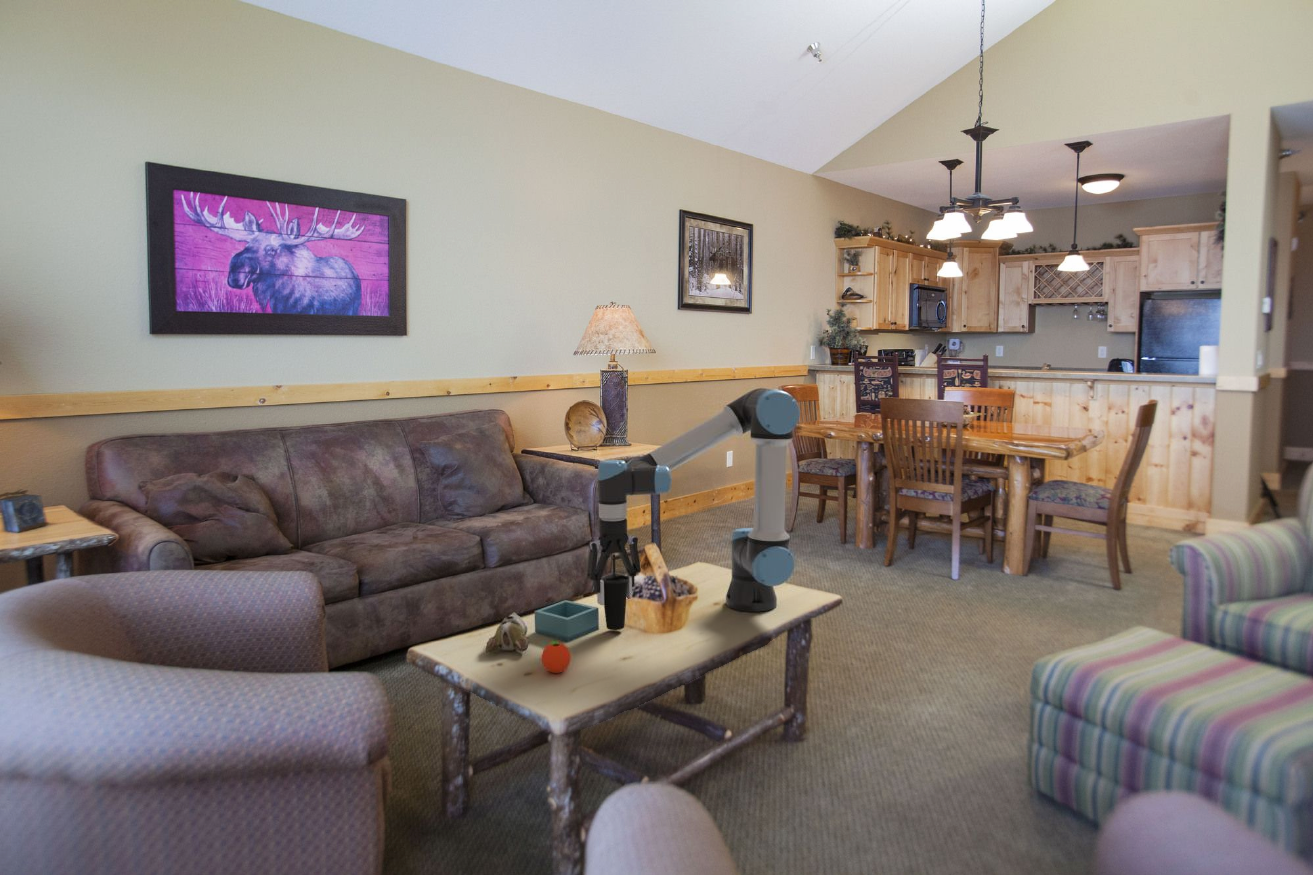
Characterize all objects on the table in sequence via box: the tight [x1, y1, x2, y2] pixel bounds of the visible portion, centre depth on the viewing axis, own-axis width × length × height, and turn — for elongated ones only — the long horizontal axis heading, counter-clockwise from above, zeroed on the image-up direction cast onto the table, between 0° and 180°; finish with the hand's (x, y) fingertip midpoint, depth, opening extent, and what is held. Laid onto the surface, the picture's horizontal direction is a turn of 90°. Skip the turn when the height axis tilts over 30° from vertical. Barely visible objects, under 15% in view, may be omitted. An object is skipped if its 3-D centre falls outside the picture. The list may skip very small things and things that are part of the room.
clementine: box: [540, 641, 572, 674], centre depth 191 cm, size 8×7×7 cm
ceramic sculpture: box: [485, 611, 530, 653], centre depth 207 cm, size 11×9×15 cm
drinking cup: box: [601, 554, 629, 631], centre depth 217 cm, size 8×8×20 cm
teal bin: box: [534, 599, 600, 643], centre depth 219 cm, size 12×12×6 cm
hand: (614, 601), depth 218 cm, fingers closed on drinking cup, 8 cm apart
